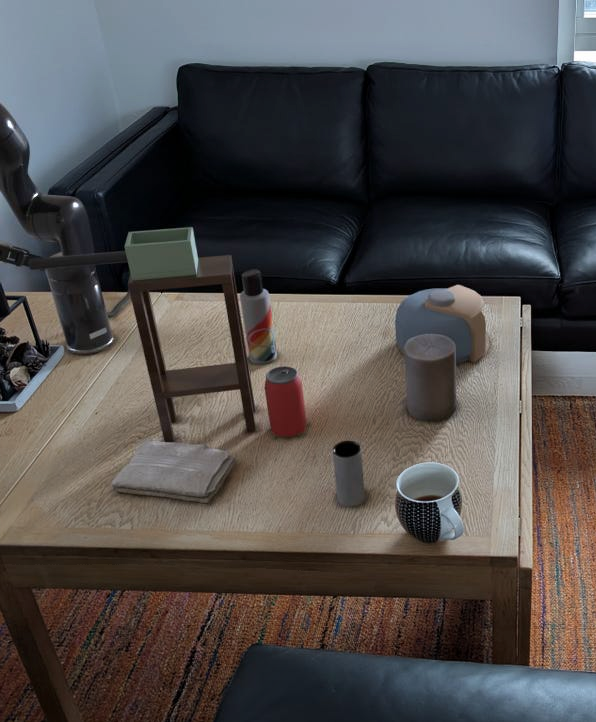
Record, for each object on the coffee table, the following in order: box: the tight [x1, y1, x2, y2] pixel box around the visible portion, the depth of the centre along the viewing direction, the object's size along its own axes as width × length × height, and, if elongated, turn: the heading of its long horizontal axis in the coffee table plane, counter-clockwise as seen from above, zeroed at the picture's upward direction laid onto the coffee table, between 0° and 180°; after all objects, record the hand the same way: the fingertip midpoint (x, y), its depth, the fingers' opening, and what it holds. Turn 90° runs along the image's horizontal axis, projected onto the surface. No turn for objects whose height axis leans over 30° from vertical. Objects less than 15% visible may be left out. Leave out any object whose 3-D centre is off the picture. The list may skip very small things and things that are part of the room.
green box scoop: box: [28, 226, 199, 281], centre depth 134 cm, size 6×25×6 cm, turn 104°
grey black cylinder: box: [332, 439, 366, 508], centre depth 135 cm, size 4×4×10 cm
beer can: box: [264, 365, 308, 439], centre depth 151 cm, size 7×7×12 cm
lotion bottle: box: [239, 268, 278, 365], centre depth 170 cm, size 6×6×20 cm
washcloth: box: [110, 440, 237, 504], centre depth 141 cm, size 12×18×3 cm, turn 82°
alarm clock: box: [394, 284, 490, 364], centre depth 178 cm, size 19×20×12 cm
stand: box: [127, 254, 257, 443], centre depth 146 cm, size 8×16×32 cm, turn 104°
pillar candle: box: [403, 334, 457, 422], centre depth 157 cm, size 10×10×15 cm
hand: (36, 260), depth 142 cm, fingers open, 8 cm apart
